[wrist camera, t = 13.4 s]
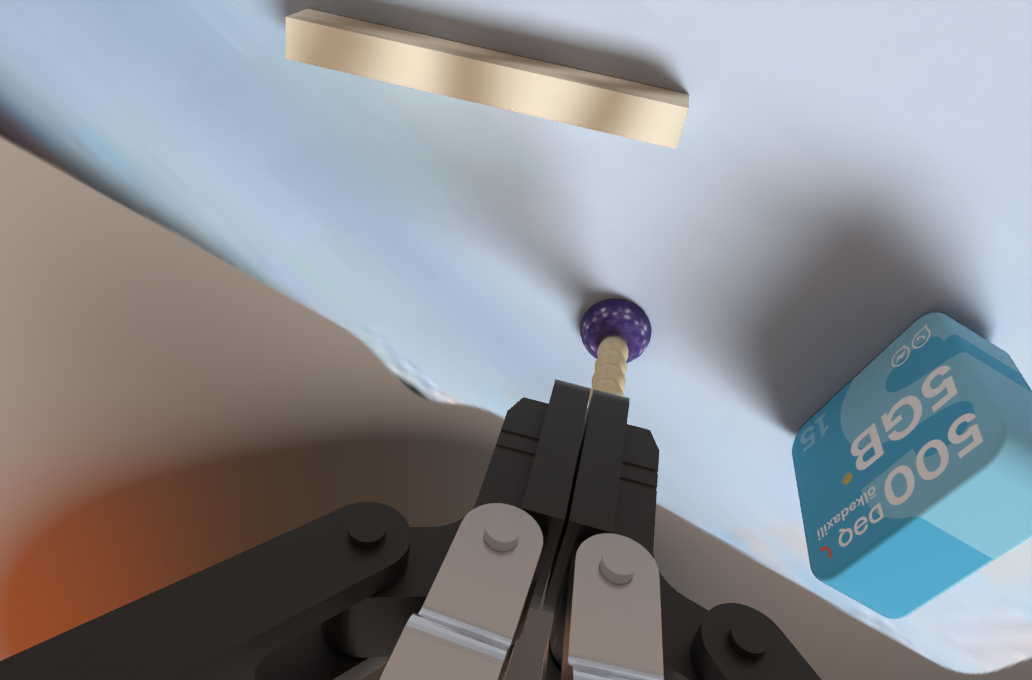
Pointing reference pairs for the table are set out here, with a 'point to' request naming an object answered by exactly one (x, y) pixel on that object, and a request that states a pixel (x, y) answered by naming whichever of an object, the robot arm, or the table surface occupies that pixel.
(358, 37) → the parallel wooden bars
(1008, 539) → the data package
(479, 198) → the table surface
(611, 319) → the toy lamp
